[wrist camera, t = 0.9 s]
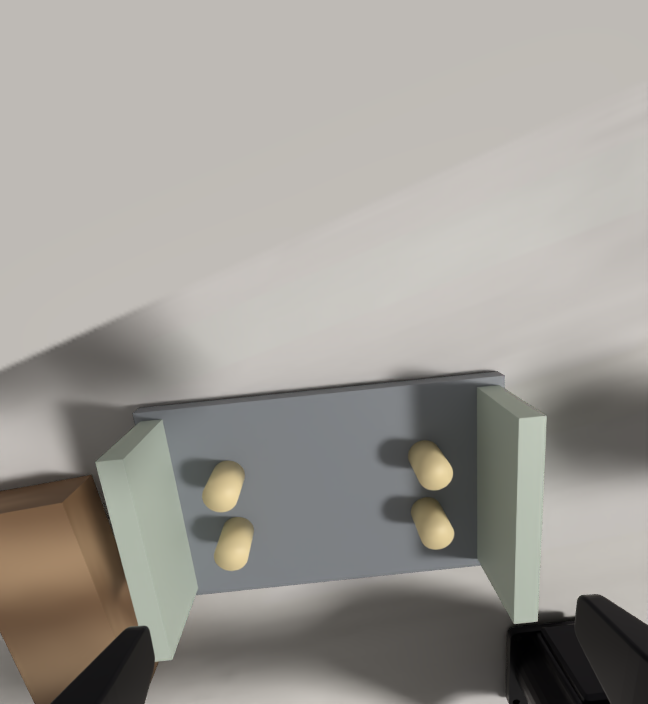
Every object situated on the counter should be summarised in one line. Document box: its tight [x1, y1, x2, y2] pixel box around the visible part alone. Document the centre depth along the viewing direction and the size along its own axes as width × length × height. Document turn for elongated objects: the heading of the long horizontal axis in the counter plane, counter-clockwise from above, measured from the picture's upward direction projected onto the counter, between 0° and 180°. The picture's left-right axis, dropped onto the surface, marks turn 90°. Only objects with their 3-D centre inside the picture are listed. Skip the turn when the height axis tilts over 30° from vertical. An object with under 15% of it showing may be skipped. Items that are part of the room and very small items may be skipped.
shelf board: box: [0, 475, 159, 704], centre depth 22 cm, size 14×6×3 cm, turn 10°
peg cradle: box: [95, 371, 547, 662], centre depth 20 cm, size 12×20×5 cm, turn 96°
